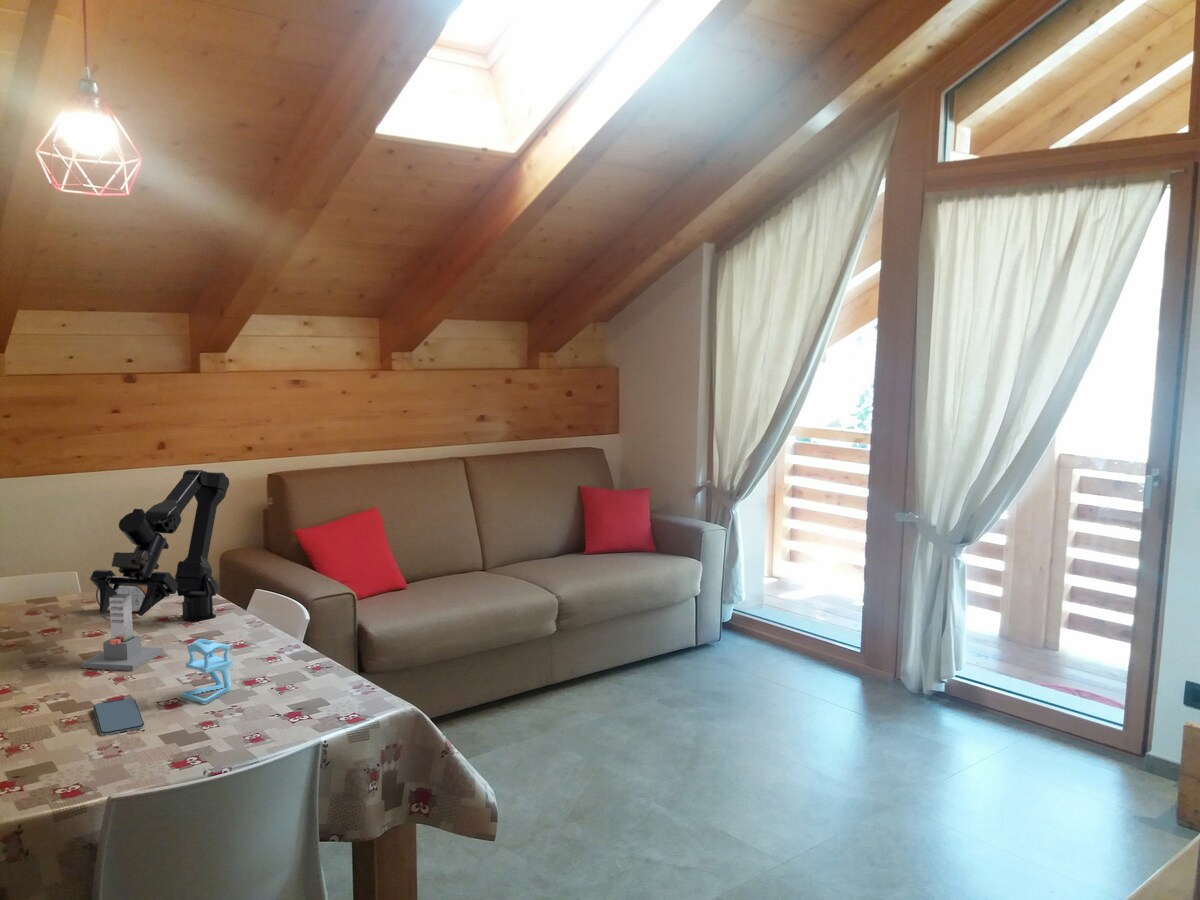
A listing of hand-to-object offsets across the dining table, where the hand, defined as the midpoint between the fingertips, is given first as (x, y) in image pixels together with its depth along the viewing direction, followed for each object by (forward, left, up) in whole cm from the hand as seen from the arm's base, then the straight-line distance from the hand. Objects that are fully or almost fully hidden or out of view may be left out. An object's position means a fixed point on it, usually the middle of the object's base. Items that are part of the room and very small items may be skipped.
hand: (120, 614), depth 213 cm
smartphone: (+16, +32, -12) cm, 37 cm away
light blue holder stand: (-2, +34, -11) cm, 36 cm away
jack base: (0, 0, -11) cm, 11 cm away
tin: (-18, -38, -11) cm, 44 cm away
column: (0, 0, -6) cm, 6 cm away
